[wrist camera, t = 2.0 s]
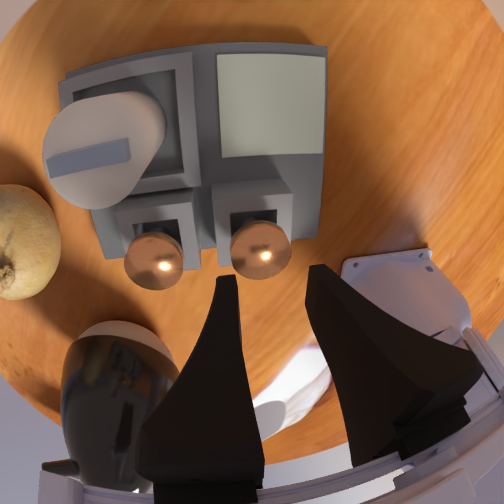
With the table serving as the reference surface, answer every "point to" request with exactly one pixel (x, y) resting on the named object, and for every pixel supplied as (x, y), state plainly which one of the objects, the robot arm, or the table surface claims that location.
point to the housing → (219, 142)
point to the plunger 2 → (259, 249)
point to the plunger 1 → (154, 259)
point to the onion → (26, 242)
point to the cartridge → (103, 147)
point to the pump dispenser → (110, 402)
